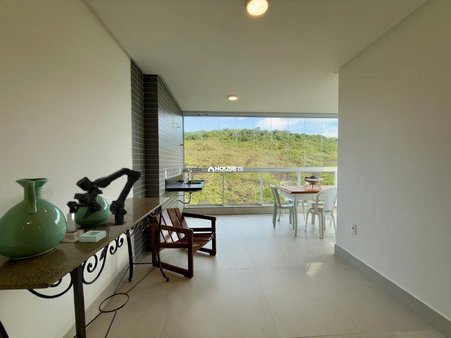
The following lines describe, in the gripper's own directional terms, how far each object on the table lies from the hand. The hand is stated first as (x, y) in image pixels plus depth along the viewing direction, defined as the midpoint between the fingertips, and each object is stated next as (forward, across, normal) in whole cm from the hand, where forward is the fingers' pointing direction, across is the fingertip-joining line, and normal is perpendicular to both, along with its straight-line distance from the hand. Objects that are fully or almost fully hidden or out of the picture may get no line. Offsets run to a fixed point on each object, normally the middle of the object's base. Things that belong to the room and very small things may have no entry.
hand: (75, 218), depth 121 cm
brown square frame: (+9, 0, +5) cm, 11 cm away
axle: (+9, 0, +5) cm, 11 cm away
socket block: (+8, +11, +7) cm, 15 cm away
